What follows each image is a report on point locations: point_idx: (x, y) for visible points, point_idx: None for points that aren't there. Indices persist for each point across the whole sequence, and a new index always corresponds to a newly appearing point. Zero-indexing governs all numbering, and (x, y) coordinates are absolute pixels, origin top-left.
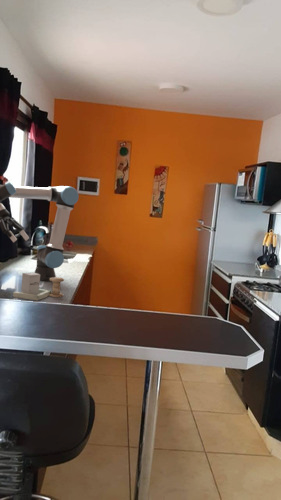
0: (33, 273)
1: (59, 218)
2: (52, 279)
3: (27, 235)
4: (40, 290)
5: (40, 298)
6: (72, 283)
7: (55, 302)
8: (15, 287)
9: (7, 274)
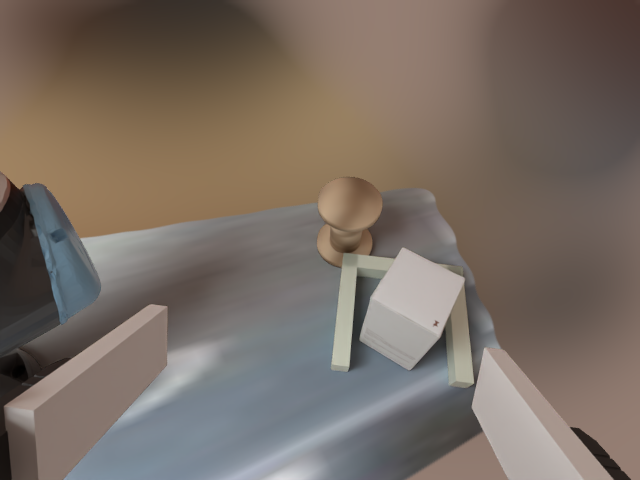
0: (410, 280)
1: None
2: (379, 210)
3: (122, 324)
4: (354, 294)
5: None
6: None
7: (437, 218)
8: (277, 473)
9: None
